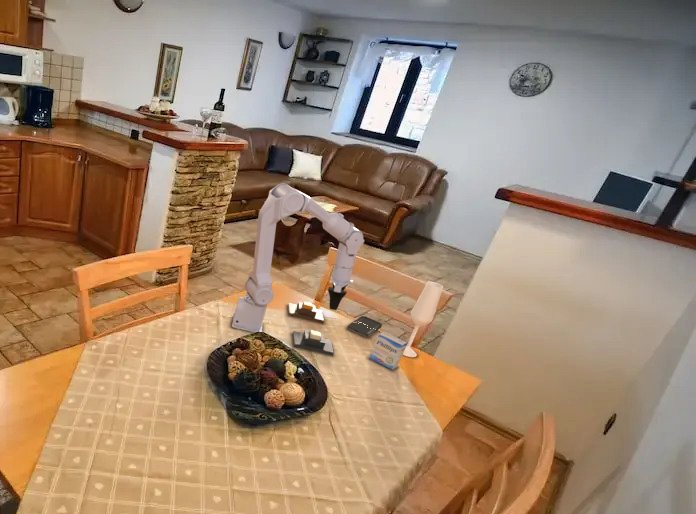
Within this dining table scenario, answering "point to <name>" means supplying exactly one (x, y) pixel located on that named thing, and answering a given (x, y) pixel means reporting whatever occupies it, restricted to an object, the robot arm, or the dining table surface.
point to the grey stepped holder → (312, 343)
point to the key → (315, 335)
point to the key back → (307, 305)
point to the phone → (364, 326)
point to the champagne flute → (424, 311)
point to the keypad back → (305, 312)
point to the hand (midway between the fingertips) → (334, 304)
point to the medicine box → (388, 350)
